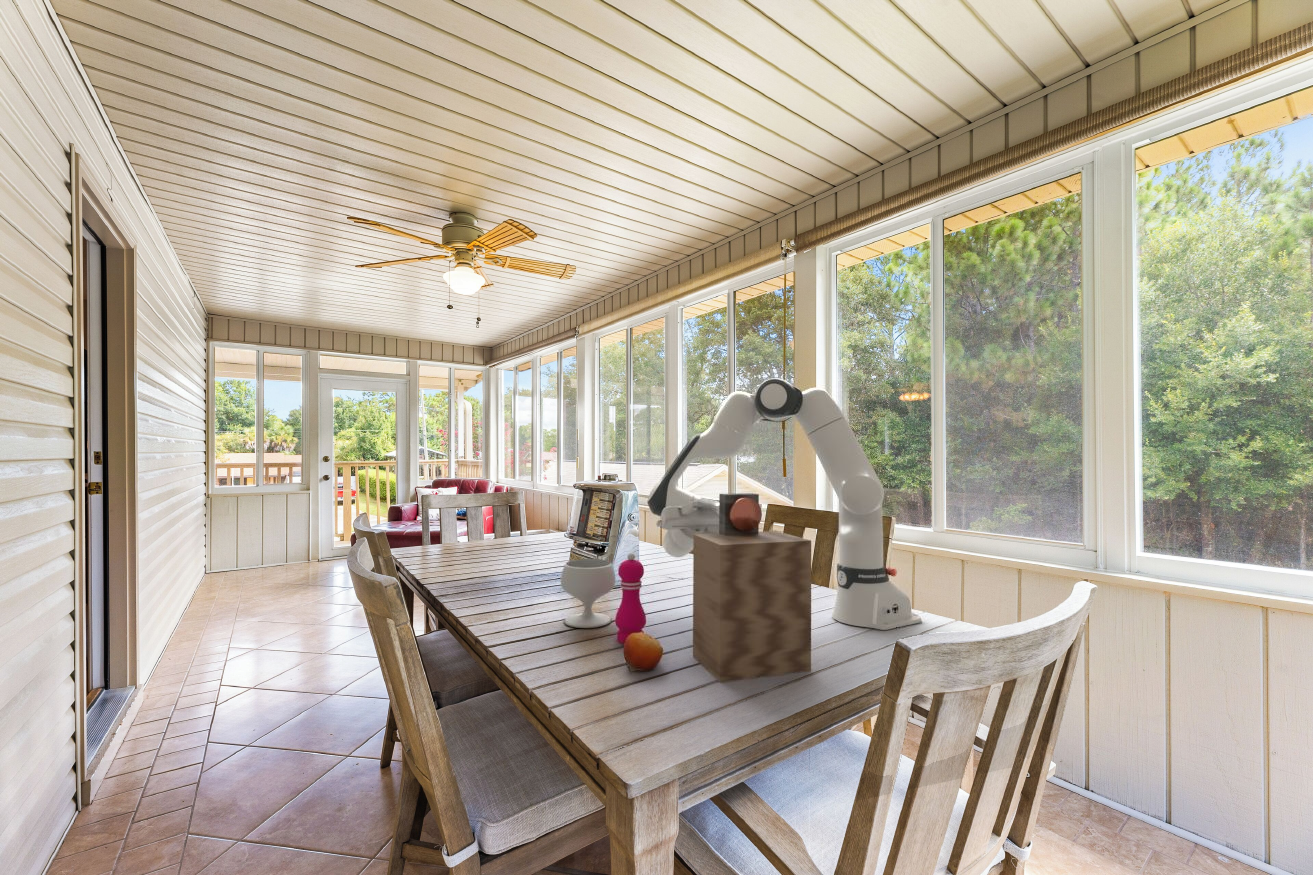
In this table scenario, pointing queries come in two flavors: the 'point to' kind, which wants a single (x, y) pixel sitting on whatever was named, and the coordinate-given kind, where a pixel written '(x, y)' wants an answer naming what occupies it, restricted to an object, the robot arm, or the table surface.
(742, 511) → the steel pin
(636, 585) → the pepper mill
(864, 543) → the robot arm
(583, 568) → the chalice
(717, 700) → the table surface
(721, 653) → the walnut post
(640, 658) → the fruit
